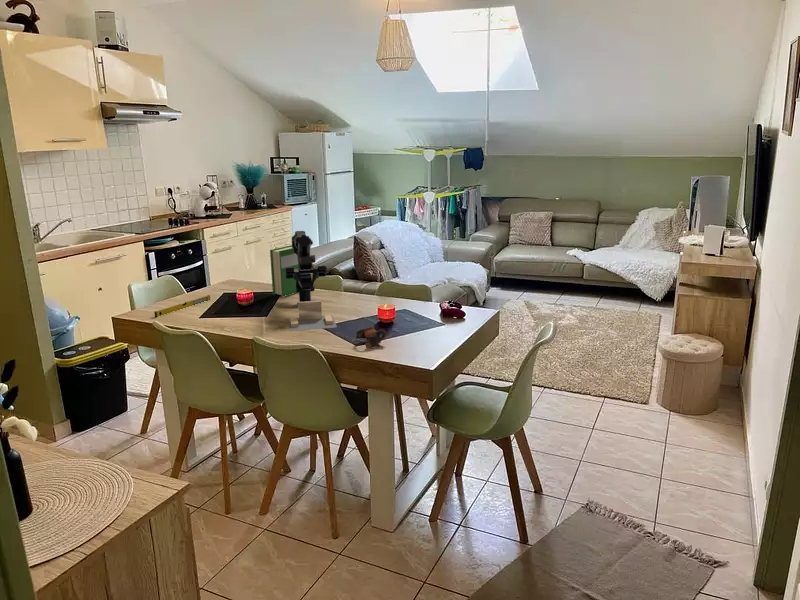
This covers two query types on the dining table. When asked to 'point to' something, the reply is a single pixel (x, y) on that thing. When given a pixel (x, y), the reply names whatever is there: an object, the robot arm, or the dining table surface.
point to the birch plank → (310, 310)
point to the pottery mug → (371, 336)
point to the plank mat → (311, 323)
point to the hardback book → (283, 270)
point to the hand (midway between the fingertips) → (307, 287)
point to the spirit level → (181, 306)
